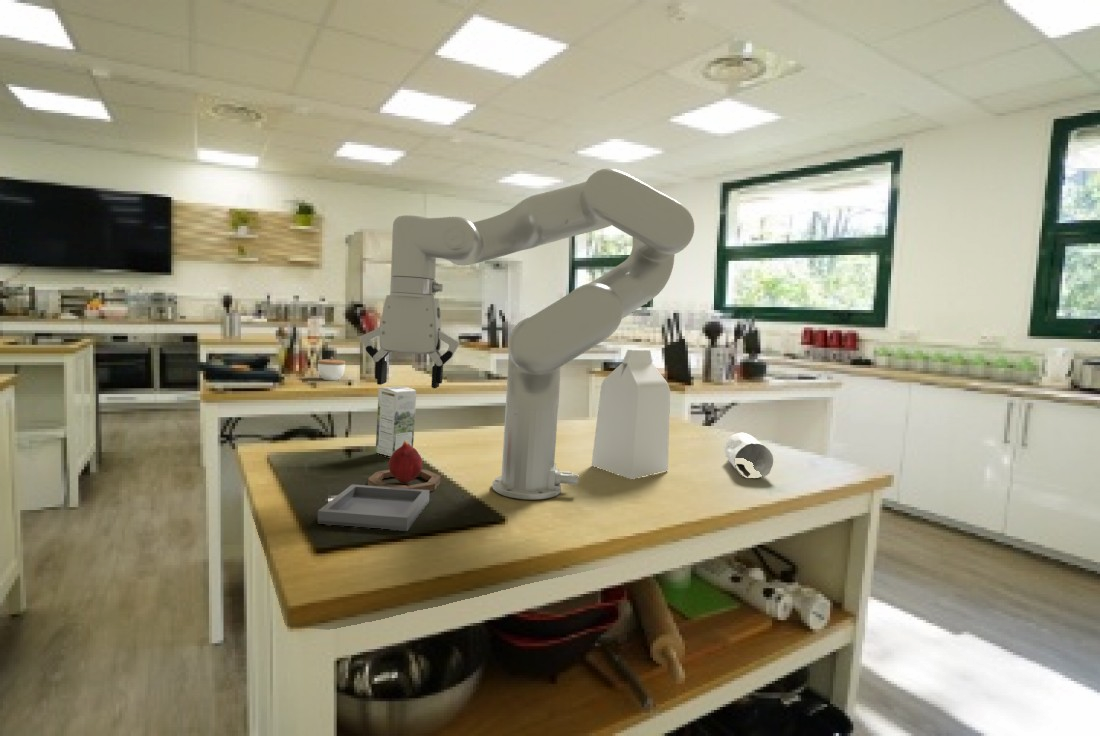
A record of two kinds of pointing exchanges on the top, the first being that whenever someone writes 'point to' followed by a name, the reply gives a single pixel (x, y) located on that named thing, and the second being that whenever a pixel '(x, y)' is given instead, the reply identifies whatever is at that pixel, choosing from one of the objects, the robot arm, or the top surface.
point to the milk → (633, 419)
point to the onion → (405, 463)
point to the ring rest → (426, 474)
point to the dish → (375, 507)
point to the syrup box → (395, 418)
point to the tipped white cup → (749, 452)
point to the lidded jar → (331, 369)
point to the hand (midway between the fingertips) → (408, 385)
